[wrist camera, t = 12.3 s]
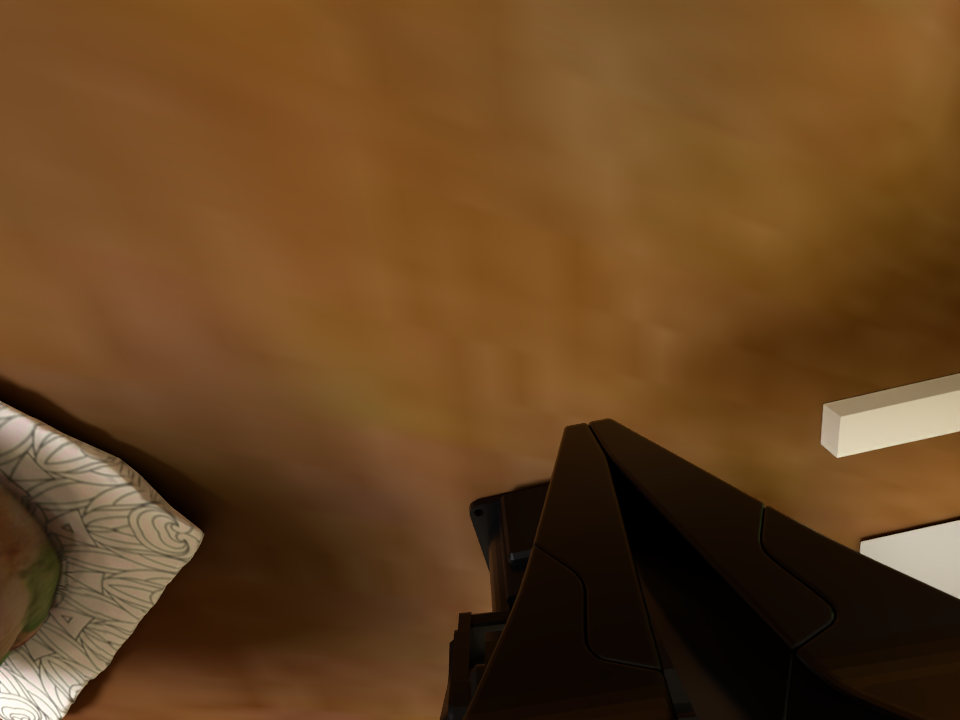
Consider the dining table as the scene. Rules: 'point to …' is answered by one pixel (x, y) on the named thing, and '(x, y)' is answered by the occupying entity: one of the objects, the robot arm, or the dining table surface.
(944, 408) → the kettle dock outline
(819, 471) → the dining table surface
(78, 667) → the cookie jar
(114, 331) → the dining table surface
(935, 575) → the paper stack
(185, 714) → the dining table surface
